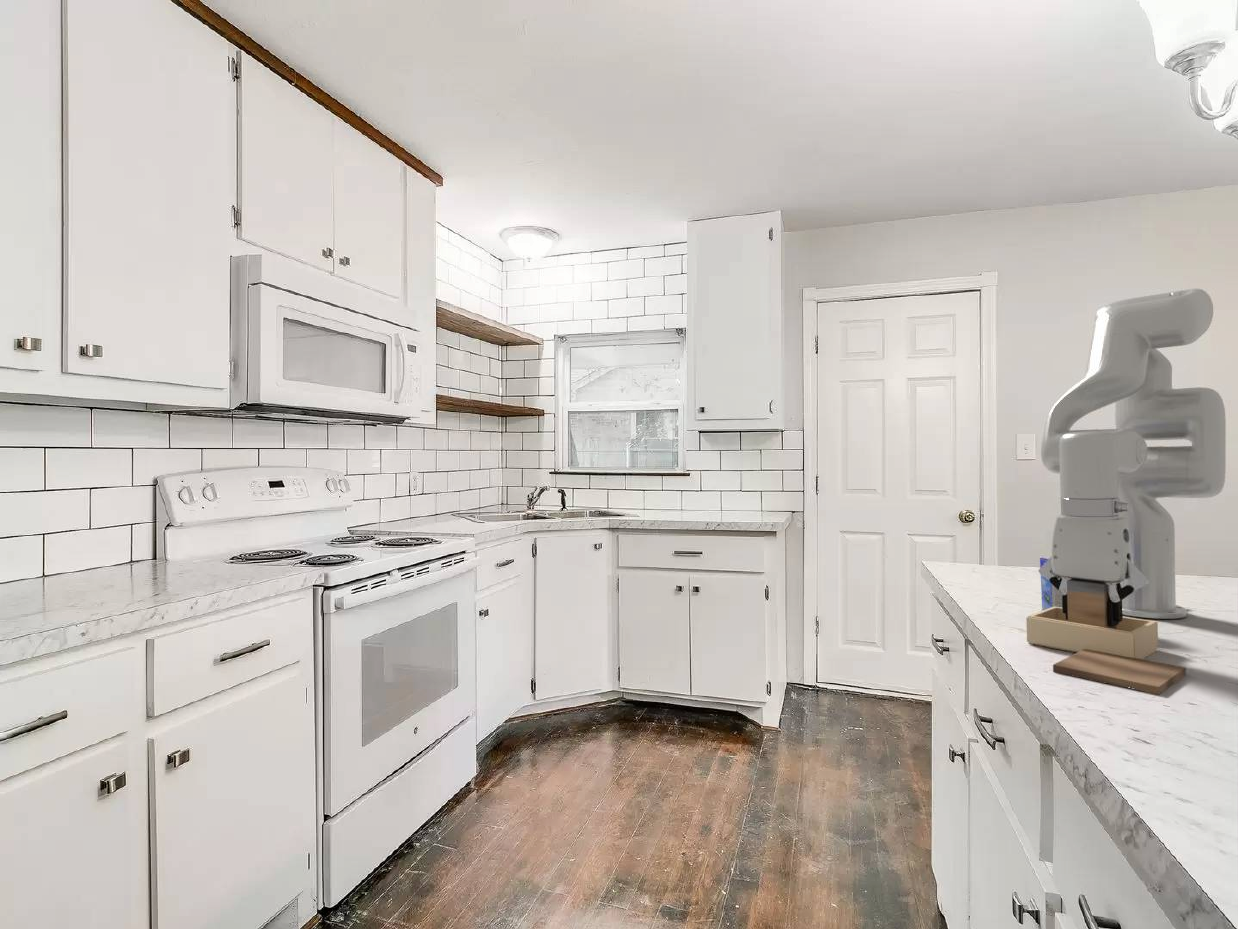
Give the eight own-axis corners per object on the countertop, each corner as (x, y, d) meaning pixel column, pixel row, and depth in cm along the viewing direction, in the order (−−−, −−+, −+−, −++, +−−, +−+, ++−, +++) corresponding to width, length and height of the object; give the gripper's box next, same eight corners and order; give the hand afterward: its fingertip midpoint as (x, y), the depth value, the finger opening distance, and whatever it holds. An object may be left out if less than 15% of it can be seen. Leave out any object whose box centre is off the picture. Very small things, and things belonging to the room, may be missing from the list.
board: (1085, 655, 101) (1085, 648, 101) (1185, 674, 91) (1185, 667, 91) (1053, 671, 94) (1053, 664, 94) (1158, 694, 84) (1158, 687, 84)
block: (1080, 630, 109) (1078, 576, 109) (1116, 636, 105) (1115, 580, 105) (1068, 636, 106) (1066, 580, 106) (1105, 642, 102) (1103, 585, 102)
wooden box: (1055, 631, 114) (1054, 606, 114) (1158, 649, 103) (1157, 621, 103) (1026, 644, 107) (1026, 616, 107) (1133, 664, 96) (1132, 634, 96)
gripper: (1163, 509, 100) (1166, 627, 101) (1039, 504, 114) (1042, 608, 114) (1147, 514, 96) (1150, 637, 96) (1020, 508, 110) (1023, 616, 110)
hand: (1091, 620), depth 105 cm, fingers closed on block, 5 cm apart
